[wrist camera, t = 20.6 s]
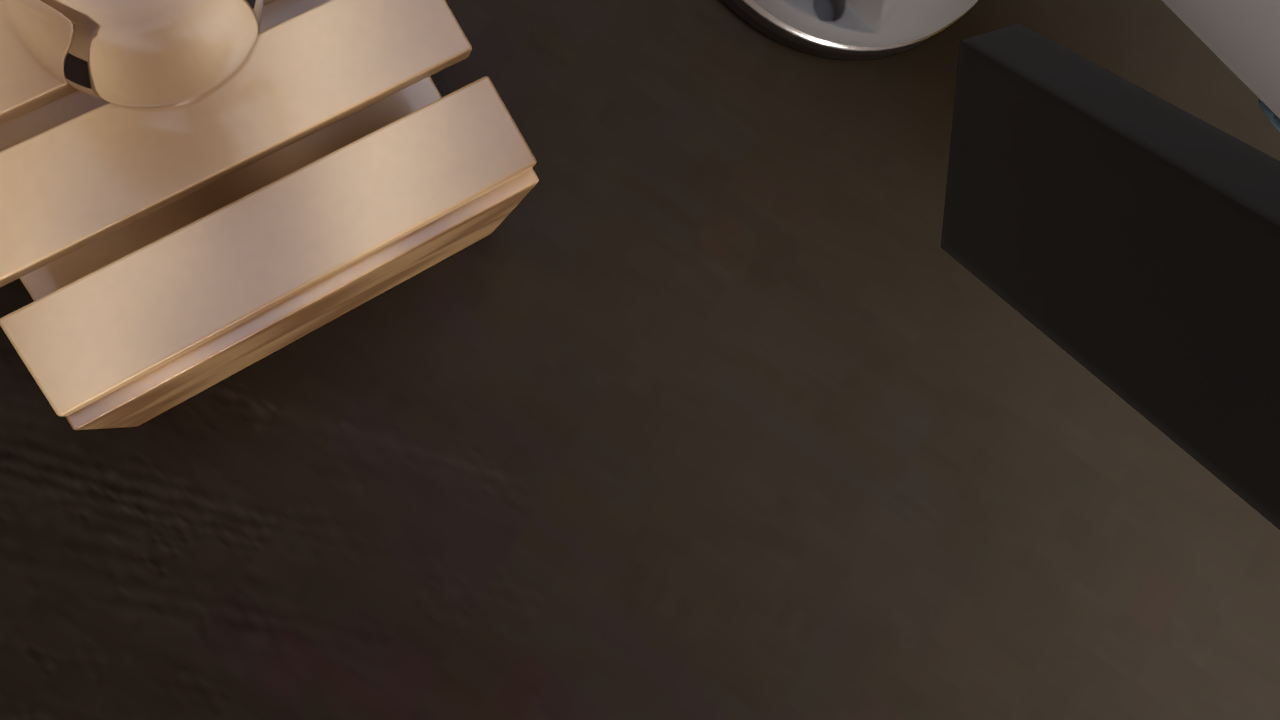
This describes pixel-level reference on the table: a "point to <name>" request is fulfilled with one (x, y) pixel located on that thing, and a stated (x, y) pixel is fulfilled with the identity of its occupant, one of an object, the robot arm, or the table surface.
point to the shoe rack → (240, 201)
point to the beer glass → (139, 45)
